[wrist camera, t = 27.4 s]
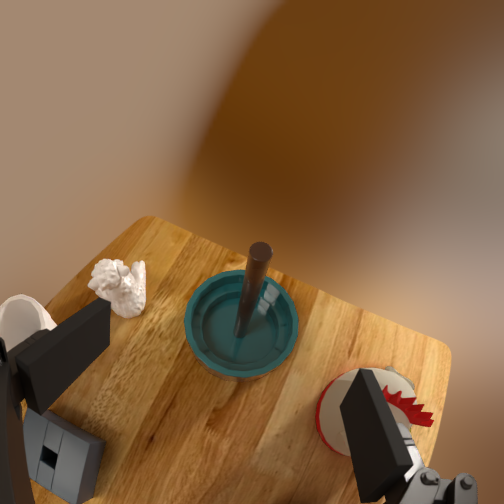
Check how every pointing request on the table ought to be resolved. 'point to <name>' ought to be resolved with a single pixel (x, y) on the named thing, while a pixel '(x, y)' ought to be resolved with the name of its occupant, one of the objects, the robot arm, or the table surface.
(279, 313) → the bowl
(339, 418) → the kitchen timer
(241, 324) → the brown rod
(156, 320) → the table surface
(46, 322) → the foam cup
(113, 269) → the white creature statuette
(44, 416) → the holder
